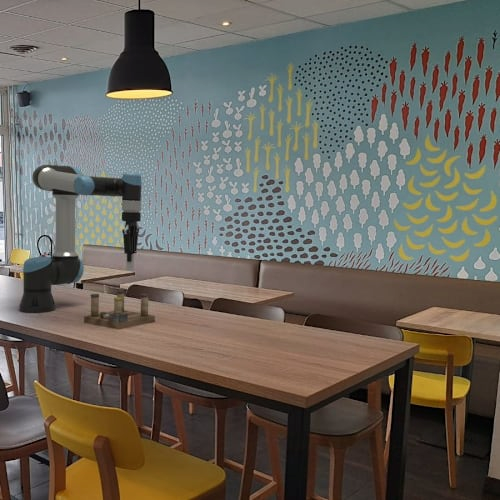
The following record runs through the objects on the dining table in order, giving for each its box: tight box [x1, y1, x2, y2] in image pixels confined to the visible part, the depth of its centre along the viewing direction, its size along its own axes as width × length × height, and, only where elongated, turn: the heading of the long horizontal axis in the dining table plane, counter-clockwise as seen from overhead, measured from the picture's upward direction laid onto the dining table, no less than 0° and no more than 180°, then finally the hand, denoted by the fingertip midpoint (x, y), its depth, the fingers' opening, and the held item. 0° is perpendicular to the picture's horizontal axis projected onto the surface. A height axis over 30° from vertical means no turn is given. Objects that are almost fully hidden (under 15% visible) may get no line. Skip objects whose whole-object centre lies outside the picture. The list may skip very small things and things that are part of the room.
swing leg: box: [99, 296, 122, 319], centre depth 228 cm, size 12×3×9 cm, turn 53°
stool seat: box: [83, 290, 156, 330], centre depth 236 cm, size 20×20×11 cm
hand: (130, 269), depth 235 cm, fingers closed
